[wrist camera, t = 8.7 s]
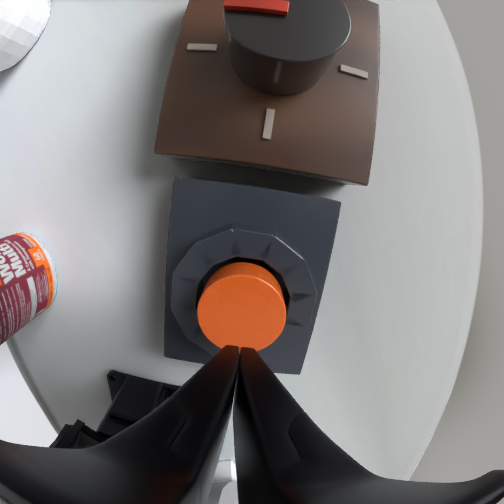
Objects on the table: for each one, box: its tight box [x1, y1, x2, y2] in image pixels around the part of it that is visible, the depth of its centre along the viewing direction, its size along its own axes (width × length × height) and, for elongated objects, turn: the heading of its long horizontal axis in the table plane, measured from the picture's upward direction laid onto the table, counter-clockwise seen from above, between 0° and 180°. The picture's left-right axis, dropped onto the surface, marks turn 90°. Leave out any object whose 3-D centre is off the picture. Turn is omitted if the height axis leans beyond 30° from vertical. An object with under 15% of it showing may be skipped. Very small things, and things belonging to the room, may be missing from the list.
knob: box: [223, 0, 352, 96], centre depth 8 cm, size 4×4×4 cm
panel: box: [154, 0, 380, 186], centre depth 12 cm, size 11×10×3 cm
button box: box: [164, 177, 341, 374], centre depth 14 cm, size 10×8×4 cm
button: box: [197, 262, 286, 353], centre depth 12 cm, size 4×4×2 cm
